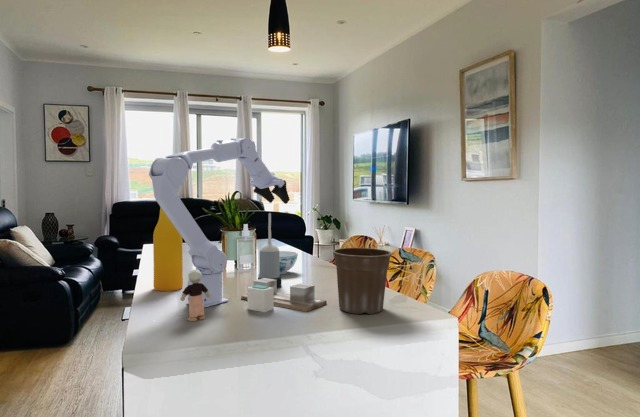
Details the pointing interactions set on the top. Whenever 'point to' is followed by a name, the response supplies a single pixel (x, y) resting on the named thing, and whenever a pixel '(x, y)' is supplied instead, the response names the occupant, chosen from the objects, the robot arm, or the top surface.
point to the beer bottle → (167, 255)
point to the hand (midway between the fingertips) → (279, 201)
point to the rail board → (292, 295)
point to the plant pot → (361, 279)
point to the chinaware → (286, 261)
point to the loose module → (260, 298)
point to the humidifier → (270, 259)
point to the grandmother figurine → (195, 296)
